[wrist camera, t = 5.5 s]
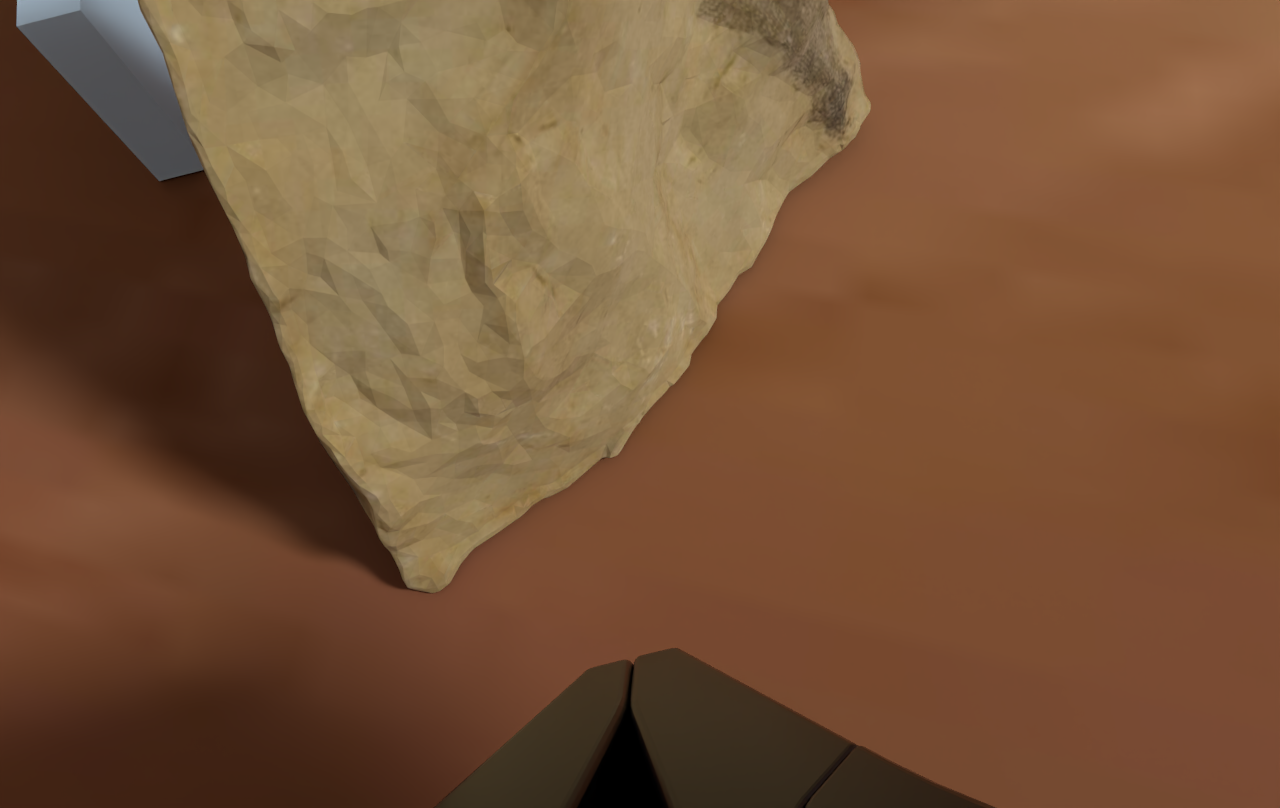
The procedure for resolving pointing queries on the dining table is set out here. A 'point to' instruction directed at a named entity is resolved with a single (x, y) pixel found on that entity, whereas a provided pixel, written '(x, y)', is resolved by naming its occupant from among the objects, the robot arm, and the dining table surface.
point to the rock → (497, 218)
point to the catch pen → (115, 74)
